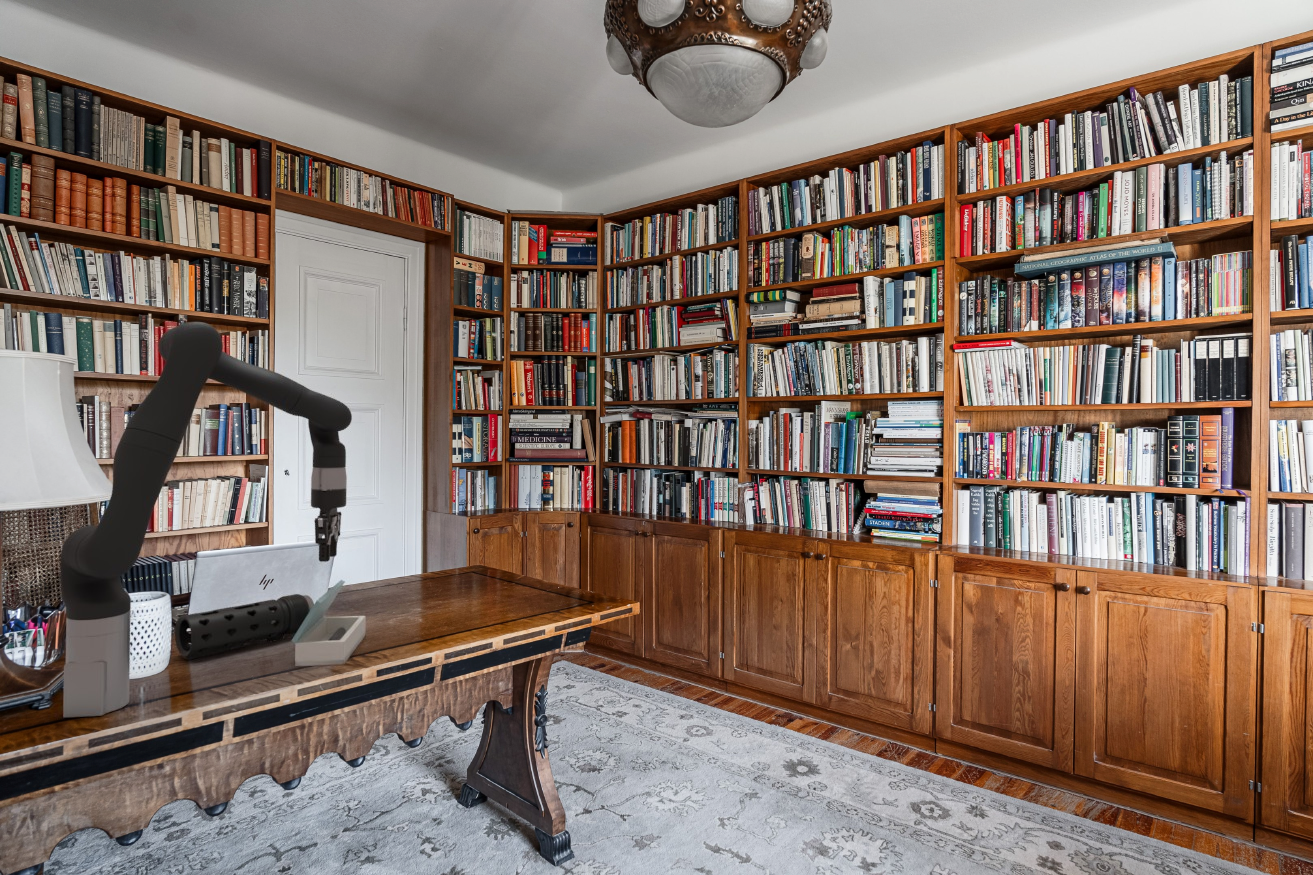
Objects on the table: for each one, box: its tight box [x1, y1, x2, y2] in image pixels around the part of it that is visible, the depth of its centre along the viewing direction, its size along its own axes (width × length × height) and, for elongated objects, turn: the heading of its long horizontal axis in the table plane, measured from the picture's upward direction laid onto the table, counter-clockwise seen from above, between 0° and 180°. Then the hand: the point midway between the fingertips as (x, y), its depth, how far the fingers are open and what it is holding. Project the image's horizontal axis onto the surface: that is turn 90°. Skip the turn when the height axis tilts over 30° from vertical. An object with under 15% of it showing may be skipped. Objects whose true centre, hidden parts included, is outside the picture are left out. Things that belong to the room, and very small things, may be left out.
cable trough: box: [294, 615, 367, 667], centre depth 164 cm, size 22×10×5 cm, turn 11°
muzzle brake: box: [174, 593, 315, 661], centre depth 166 cm, size 10×28×10 cm, turn 145°
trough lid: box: [291, 579, 346, 644], centre depth 164 cm, size 22×10×1 cm
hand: (327, 558), depth 164 cm, fingers open, 5 cm apart
